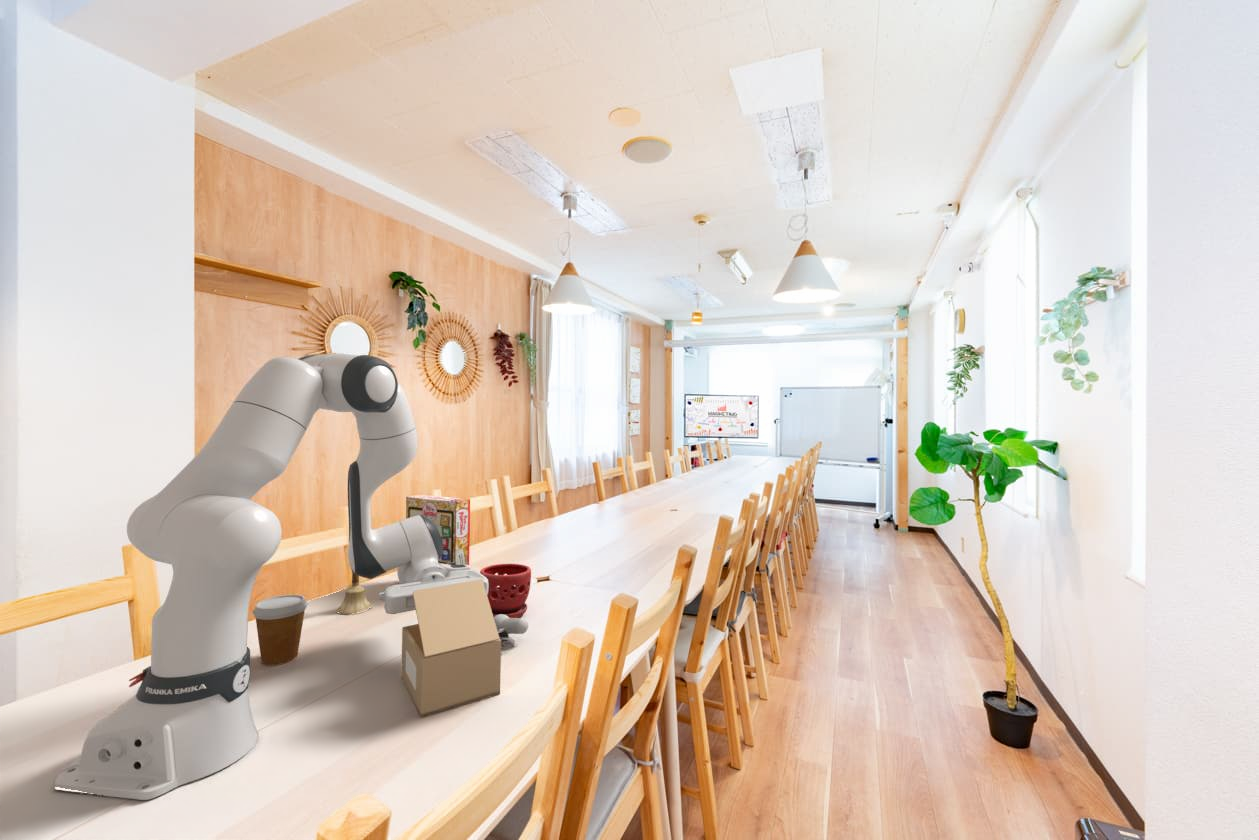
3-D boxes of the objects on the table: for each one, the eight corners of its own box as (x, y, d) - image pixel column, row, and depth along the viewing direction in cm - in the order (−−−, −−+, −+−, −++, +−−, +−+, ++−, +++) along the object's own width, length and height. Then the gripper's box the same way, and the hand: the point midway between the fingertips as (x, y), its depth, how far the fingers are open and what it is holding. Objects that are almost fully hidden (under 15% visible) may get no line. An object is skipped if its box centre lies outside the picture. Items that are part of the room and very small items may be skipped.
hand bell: (378, 607, 136) (379, 548, 136) (347, 617, 129) (348, 554, 129) (361, 601, 140) (362, 543, 140) (330, 610, 133) (331, 549, 133)
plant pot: (538, 617, 132) (539, 571, 132) (488, 627, 124) (489, 579, 124) (519, 601, 142) (519, 559, 142) (472, 610, 135) (473, 565, 135)
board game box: (469, 588, 153) (471, 498, 153) (454, 594, 147) (456, 501, 147) (419, 578, 161) (421, 493, 161) (403, 584, 155) (405, 496, 155)
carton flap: (412, 592, 95) (412, 590, 95) (481, 580, 102) (482, 579, 102) (424, 657, 87) (425, 656, 86) (499, 639, 94) (499, 638, 94)
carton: (400, 678, 99) (401, 627, 99) (472, 659, 108) (473, 612, 108) (420, 718, 86) (421, 659, 86) (500, 693, 94) (501, 640, 94)
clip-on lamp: (444, 654, 117) (499, 656, 107) (439, 626, 117) (493, 627, 108) (483, 631, 127) (536, 632, 117) (478, 606, 127) (530, 604, 118)
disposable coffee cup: (246, 658, 106) (248, 601, 106) (299, 644, 113) (300, 590, 113) (257, 674, 100) (258, 613, 100) (312, 658, 107) (313, 601, 107)
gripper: (377, 577, 104) (390, 597, 93) (476, 563, 116) (498, 579, 104) (376, 608, 104) (389, 632, 93) (475, 591, 116) (497, 610, 104)
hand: (447, 604), depth 99 cm, fingers closed
